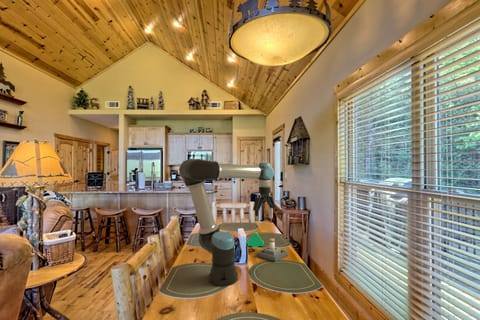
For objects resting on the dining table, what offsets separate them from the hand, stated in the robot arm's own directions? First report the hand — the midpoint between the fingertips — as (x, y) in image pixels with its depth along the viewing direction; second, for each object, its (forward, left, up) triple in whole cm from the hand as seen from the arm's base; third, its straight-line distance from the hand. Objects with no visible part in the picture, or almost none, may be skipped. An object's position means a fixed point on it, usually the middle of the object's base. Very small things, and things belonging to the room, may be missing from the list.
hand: (264, 219), depth 165 cm
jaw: (+4, -3, -23) cm, 23 cm away
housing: (+4, -3, -24) cm, 24 cm away
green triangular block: (+13, +18, -24) cm, 33 cm away
